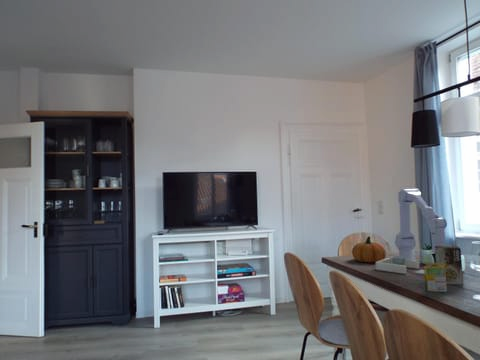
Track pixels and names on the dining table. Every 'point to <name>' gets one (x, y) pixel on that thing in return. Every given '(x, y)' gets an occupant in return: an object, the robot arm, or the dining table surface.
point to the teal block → (398, 261)
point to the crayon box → (435, 277)
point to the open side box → (395, 265)
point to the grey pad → (420, 272)
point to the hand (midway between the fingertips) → (440, 269)
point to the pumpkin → (368, 252)
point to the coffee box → (450, 263)
